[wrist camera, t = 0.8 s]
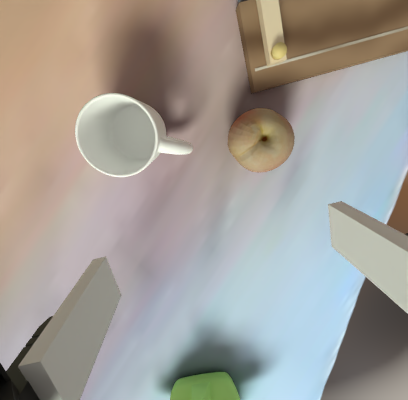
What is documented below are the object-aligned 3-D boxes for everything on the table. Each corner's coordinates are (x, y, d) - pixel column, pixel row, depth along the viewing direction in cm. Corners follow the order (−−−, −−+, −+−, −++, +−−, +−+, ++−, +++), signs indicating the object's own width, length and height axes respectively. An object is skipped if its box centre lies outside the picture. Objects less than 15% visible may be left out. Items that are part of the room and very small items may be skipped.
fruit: (264, 98, 35) (285, 90, 27) (288, 148, 37) (314, 154, 29) (215, 129, 35) (221, 130, 28) (241, 176, 38) (254, 189, 30)
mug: (198, 117, 35) (202, 114, 25) (186, 174, 37) (184, 192, 27) (111, 95, 33) (78, 82, 24) (104, 155, 36) (70, 167, 26)
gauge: (231, -34, 30) (248, -99, 21) (272, -46, 30) (305, -116, 21) (251, 73, 34) (272, 55, 25) (287, 63, 33) (321, 41, 25)
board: (235, 10, 31) (238, 2, 29) (409, -39, 31) (424, -51, 29) (251, 93, 34) (255, 91, 32) (410, 50, 34) (423, 45, 32)
